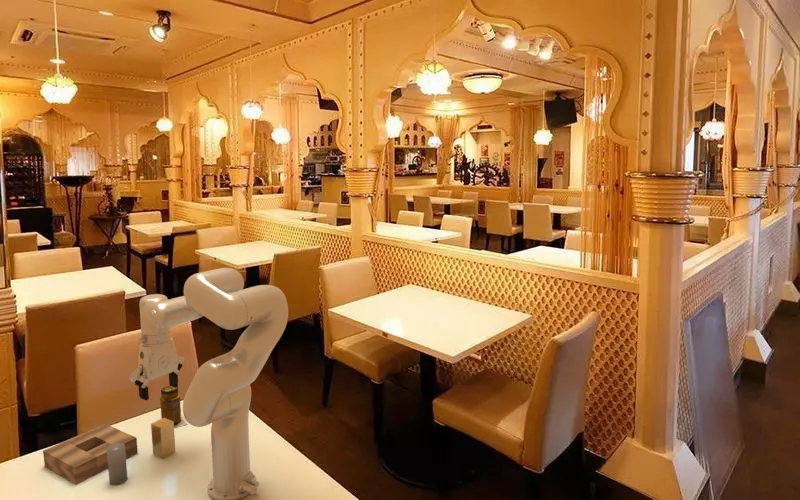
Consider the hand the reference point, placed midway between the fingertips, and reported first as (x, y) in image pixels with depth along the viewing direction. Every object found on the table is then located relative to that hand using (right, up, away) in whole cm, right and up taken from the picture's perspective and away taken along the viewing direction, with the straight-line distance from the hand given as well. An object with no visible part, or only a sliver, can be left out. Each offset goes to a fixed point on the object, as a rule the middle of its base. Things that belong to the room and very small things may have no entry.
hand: (159, 392), depth 154 cm
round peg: (-7, -21, -10) cm, 25 cm away
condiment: (-6, -16, +21) cm, 27 cm away
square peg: (0, -19, +3) cm, 20 cm away
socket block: (-19, -20, -1) cm, 28 cm away
